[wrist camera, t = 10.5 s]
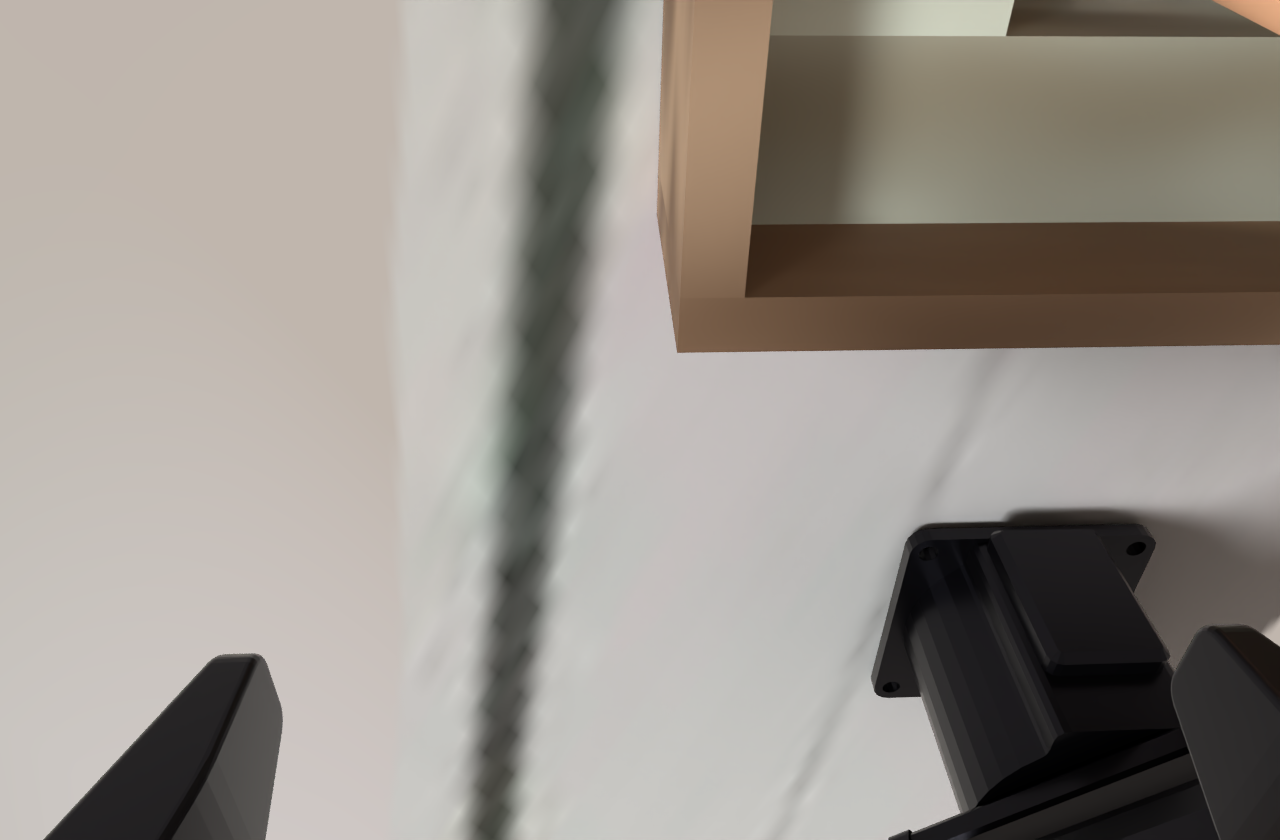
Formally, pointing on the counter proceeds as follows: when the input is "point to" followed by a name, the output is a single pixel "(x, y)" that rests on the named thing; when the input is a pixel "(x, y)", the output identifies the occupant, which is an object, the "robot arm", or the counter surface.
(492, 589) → the counter surface
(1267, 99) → the bore box
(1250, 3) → the peg
